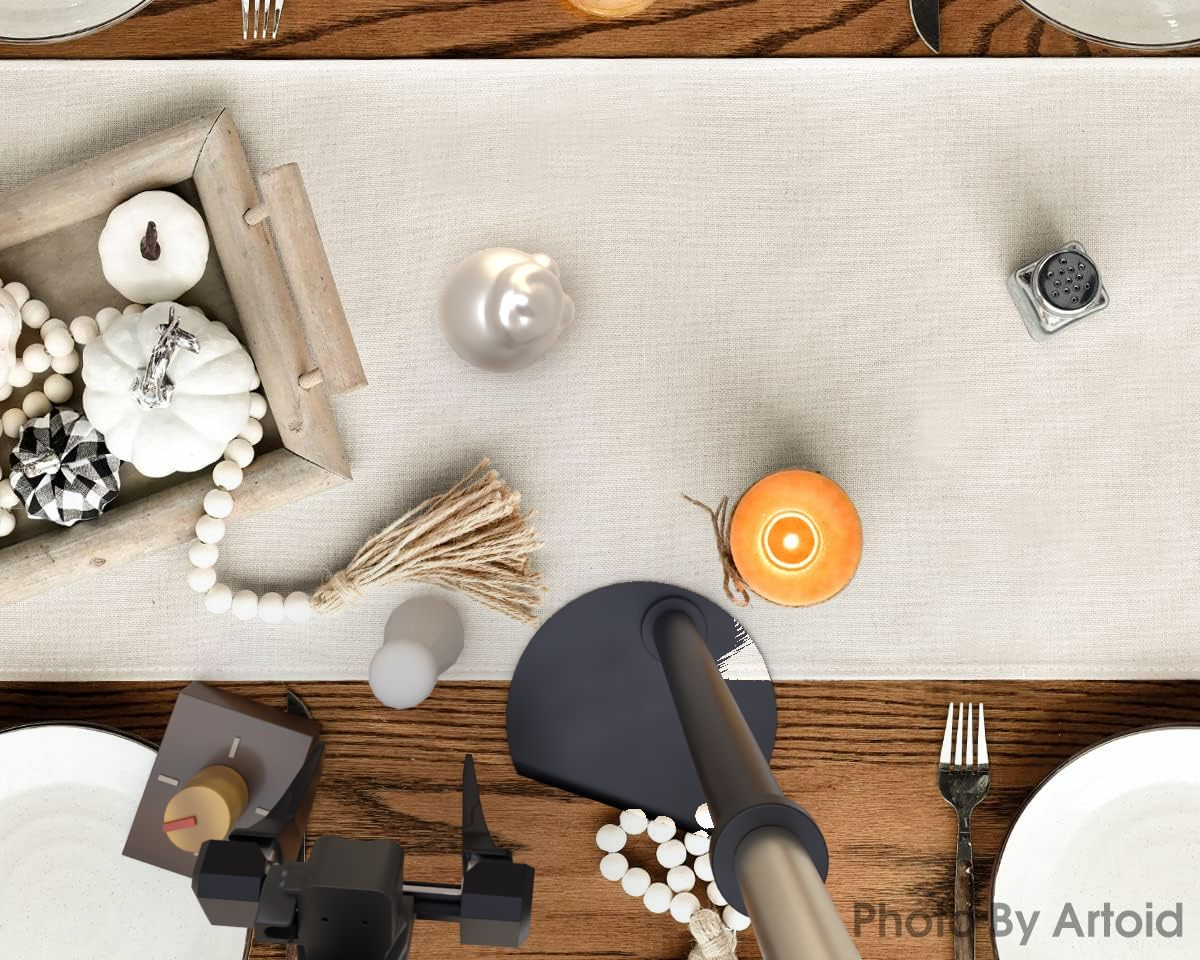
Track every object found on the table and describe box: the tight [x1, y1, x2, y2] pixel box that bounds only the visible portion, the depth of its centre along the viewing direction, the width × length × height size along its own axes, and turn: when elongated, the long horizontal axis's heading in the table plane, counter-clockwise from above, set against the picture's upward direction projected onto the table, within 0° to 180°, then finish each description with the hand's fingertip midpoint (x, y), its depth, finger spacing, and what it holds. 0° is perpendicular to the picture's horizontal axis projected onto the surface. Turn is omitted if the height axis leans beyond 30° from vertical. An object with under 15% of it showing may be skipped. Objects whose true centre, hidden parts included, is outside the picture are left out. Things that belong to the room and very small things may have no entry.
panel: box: [121, 680, 324, 879], centre depth 75 cm, size 12×10×3 cm
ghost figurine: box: [437, 246, 576, 374], centre depth 73 cm, size 9×10×10 cm
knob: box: [163, 765, 248, 853], centre depth 71 cm, size 4×4×4 cm
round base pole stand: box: [505, 580, 863, 960], centre depth 52 cm, size 20×20×50 cm
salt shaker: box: [368, 595, 465, 710], centre depth 71 cm, size 6×6×13 cm
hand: (395, 750), depth 66 cm, fingers open, 9 cm apart
